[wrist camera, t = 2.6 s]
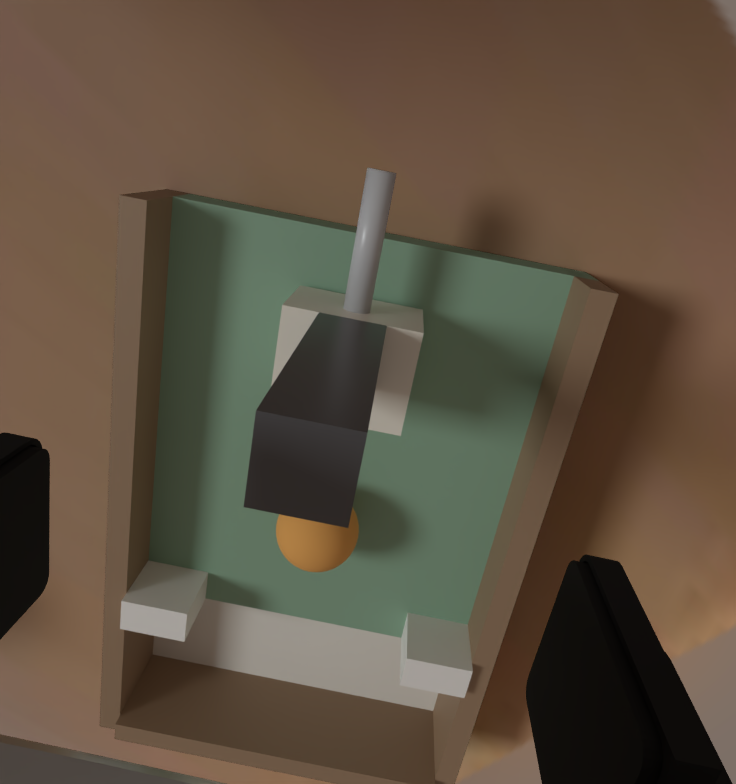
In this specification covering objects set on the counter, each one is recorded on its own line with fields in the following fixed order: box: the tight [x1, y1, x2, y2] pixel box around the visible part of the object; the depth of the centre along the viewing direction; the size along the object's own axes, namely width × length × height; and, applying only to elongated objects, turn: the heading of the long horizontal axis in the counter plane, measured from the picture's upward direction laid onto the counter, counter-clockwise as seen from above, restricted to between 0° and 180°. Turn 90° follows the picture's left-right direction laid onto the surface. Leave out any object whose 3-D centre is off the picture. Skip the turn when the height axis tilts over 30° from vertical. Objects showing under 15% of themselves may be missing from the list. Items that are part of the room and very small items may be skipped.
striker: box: [244, 168, 424, 528], centre depth 19 cm, size 9×5×13 cm, turn 170°
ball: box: [276, 507, 359, 572], centre depth 27 cm, size 4×4×4 cm
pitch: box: [100, 189, 619, 784], centre depth 28 cm, size 26×18×5 cm
